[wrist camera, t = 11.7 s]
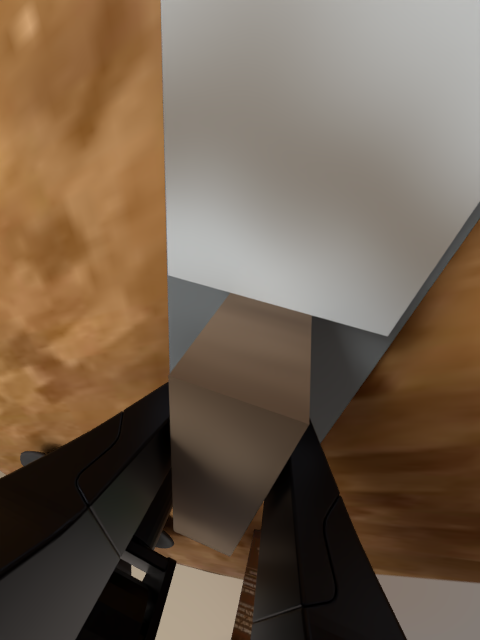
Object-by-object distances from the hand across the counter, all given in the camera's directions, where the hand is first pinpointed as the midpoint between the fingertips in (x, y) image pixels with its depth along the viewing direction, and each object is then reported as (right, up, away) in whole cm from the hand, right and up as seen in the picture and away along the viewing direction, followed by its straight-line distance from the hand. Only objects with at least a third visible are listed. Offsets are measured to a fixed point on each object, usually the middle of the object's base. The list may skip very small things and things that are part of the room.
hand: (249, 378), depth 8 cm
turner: (+1, +1, 0) cm, 2 cm away
